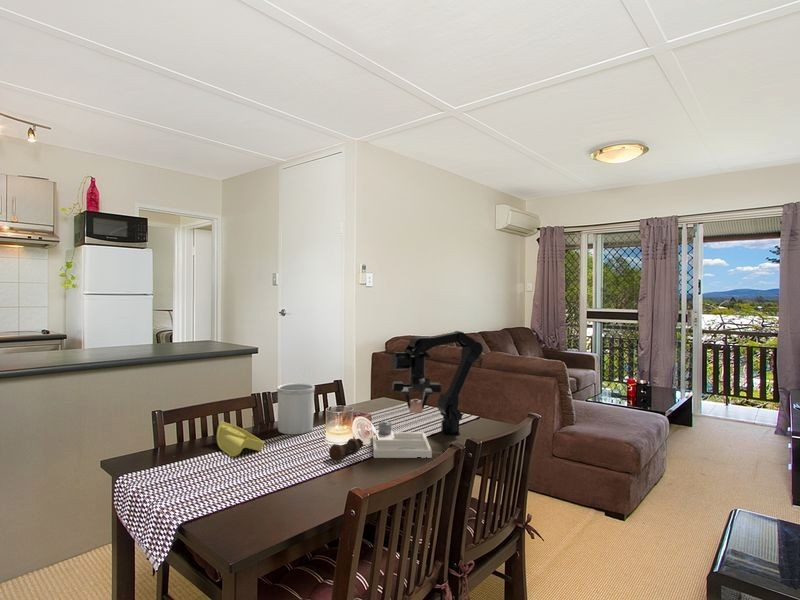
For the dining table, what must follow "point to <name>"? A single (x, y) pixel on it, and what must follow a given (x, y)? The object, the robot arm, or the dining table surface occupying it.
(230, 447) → the plastic component
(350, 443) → the dark brown dumbbell
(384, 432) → the grey cylinder
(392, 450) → the white flat rectangular tray
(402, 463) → the dining table surface
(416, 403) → the pink cube
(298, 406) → the utensil holder
